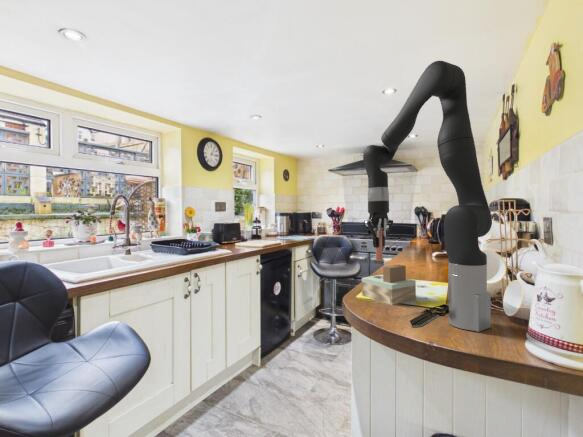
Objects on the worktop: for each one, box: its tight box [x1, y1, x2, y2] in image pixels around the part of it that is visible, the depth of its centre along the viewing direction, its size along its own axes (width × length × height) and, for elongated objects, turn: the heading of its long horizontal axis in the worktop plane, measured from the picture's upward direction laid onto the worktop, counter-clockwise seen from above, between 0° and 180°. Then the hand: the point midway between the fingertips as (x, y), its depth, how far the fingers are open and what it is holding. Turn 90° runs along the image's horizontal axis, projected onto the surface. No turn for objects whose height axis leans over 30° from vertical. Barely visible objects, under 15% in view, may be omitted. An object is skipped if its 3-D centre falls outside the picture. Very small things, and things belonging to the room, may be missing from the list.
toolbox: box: [361, 281, 417, 306], centre depth 111 cm, size 14×12×6 cm
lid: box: [361, 264, 417, 290], centre depth 111 cm, size 14×12×6 cm
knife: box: [409, 303, 449, 328], centre depth 94 cm, size 25×6×1 cm, turn 129°
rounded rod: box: [375, 228, 384, 262], centre depth 114 cm, size 2×2×12 cm
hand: (379, 247), depth 114 cm, fingers closed on rounded rod, 2 cm apart
